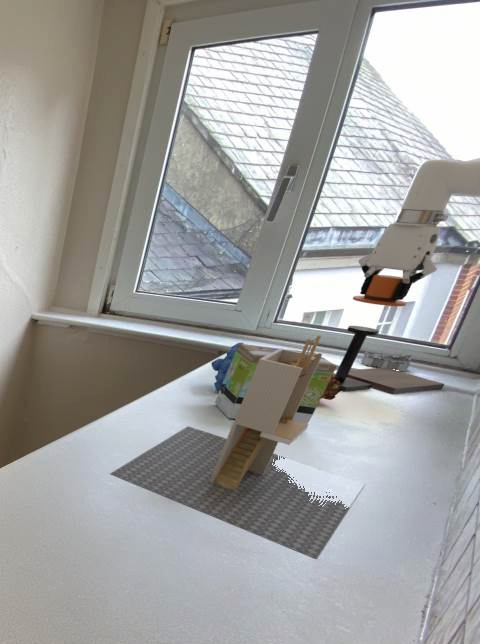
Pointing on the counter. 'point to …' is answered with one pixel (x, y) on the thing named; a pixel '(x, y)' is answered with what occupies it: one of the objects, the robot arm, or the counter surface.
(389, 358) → the egg carton
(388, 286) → the hat
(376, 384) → the board
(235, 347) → the grapes
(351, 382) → the hat stand
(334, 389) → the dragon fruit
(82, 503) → the counter surface
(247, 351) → the tea box
